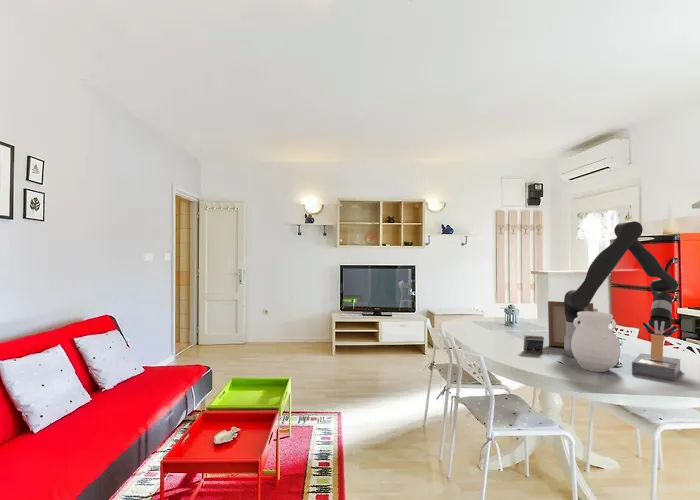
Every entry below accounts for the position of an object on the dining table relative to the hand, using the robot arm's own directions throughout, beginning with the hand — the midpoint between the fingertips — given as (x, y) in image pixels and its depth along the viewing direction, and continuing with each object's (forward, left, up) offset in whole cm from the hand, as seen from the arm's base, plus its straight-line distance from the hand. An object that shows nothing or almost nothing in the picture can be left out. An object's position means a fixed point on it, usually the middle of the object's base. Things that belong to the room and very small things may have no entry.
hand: (658, 342), depth 170 cm
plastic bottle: (0, +52, -12) cm, 54 cm away
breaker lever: (-3, -4, -7) cm, 9 cm away
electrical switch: (-44, +24, -12) cm, 52 cm away
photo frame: (-18, +42, -12) cm, 48 cm away
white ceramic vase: (-28, -3, -12) cm, 31 cm away
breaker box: (-3, -4, -12) cm, 13 cm away
